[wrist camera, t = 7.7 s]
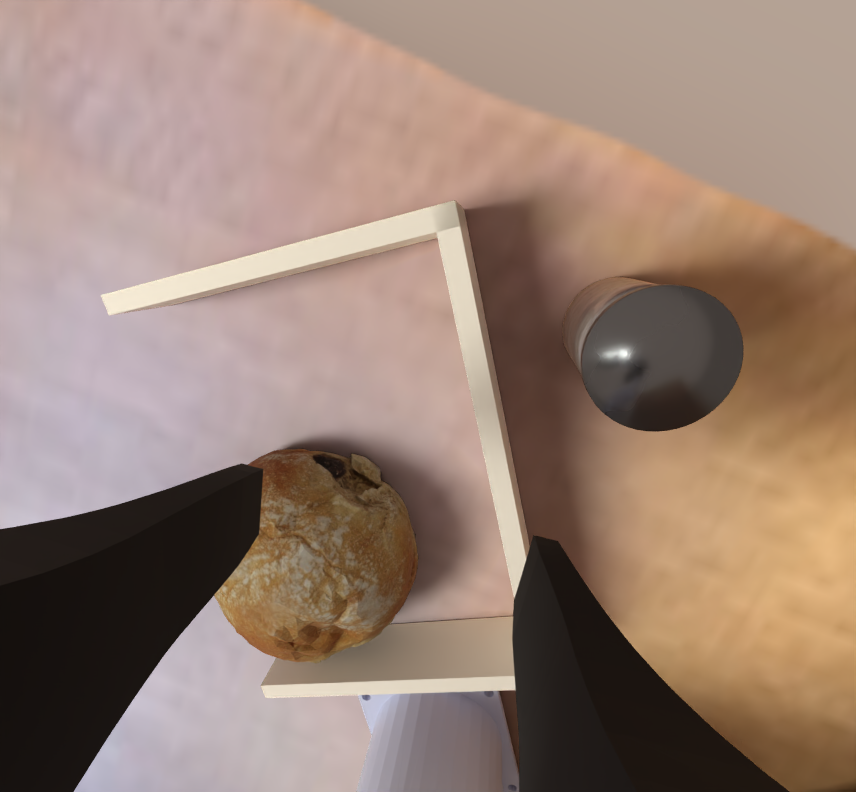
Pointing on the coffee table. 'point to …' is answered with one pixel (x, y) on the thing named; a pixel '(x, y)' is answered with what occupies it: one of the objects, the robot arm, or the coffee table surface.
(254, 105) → the coffee table surface
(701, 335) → the grey tin
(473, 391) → the cream low open frame
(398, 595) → the bread roll
